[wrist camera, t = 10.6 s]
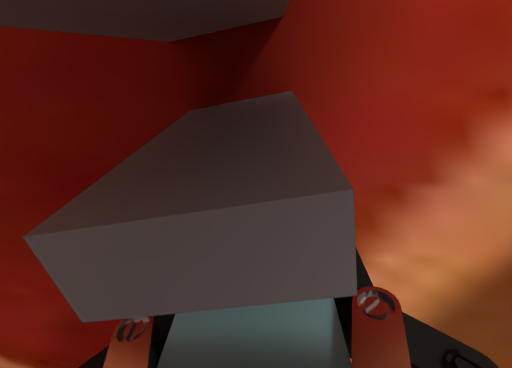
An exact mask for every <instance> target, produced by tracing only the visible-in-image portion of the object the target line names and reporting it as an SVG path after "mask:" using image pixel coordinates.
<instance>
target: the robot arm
mask: <svg viewBox="0 0 512 368" xmlns="http://www.w3.org/2000/svg"><path fill="white" fill-rule="evenodd" d="M356 273H357V296H348V297H338V298H334V301H335V305H336V309H337V313H338V316H339V320H340V324H341V328H342V331H343V335H344V339H345V342H346V346H347V350H348V354H349V357H350V358H351V359H352V361H351V368H498V366H497V365H496V364H495V363H494V362H492V361H491V360H490V359H489V358H488V357H487V356H485V355H483V354H482V353H480V352H479V351H477V350H475V349H473V348H471V347H469V346H467V345H465V344H463V343H461V342H459V341H457V340H456V339H454V338H452V337H450V336H448V335H446V334H444V333H442V332H440V331H438V330H436V329H434V328H432V327H430V326H428V325H427V324H425V323H423V322H421V321H419V320H417V319H415V318H413V317H411V316H409V315H407V314H405V313H403V312H402V310H401V306H400V303H399V301H398V299H397V298H396V297H395V296H394V295H393V294H392V293H390V292H389V291H387V290H385V289H383V288H379V287H373V284H372V282H371V280H370V278H369V275H368V273H367V271H366V269H365V267H364V264H363V262H362V260H361V258H360V255H359V253H358V251H357V249H356ZM174 317H175V314H166V315H156V316H146V317H136V318H126V319H122V320H121V321H120V322H119V324H118V325H117V326H116V328H115V329H114V332H113V334H112V337H111V341H110V345H109V346H107V347H106V348H105V349H103V350H102V351H101V352H99V353H98V354H96V355H95V356H94V357H92V358H91V359H90V360H88V361H87V362H86V363H84V364H83V365H81V366H80V367H79V368H157V365H158V362H159V360H160V357H161V354H162V351H163V348H164V345H165V343H166V340H167V337H168V334H169V331H170V328H171V325H172V323H173V320H174Z"/></svg>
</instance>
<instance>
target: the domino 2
mask: <svg viewBox="0 0 512 368" xmlns="http://www.w3.org/2000/svg"><path fill="white" fill-rule="evenodd" d="M23 238H24V240H25V241H26V243H27V244H28V246H29V247H30V248H31V250H32V251H33V253H34V254H35V256H36V257H37V258H38V260H39V261H40V263H41V264H42V266H43V267H44V268H45V270H46V271H47V273H48V274H49V276H50V277H51V279H52V280H53V281H54V283H55V284H56V286H57V287H58V289H59V290H60V291H61V293H62V294H63V296H64V297H65V299H66V300H67V301H68V303H69V304H70V306H71V307H72V309H73V310H74V311H75V313H76V314H77V316H78V317H79V319H80V320H81V321H82V323H85V322H96V321H106V320H116V319H126V318H136V317H146V316H156V315H166V314H176V313H187V312H197V311H207V310H217V309H227V308H237V307H247V306H257V305H268V304H278V303H288V302H298V301H308V300H318V299H328V298H338V297H348V296H357V273H356V244H355V216H354V189H353V188H352V186H351V184H350V183H349V181H348V180H347V178H346V176H345V175H344V173H343V172H342V170H341V168H340V167H339V165H338V163H337V162H336V160H335V159H334V157H333V155H332V154H331V152H330V151H329V149H328V147H327V146H326V144H325V143H324V141H323V139H322V138H321V136H320V135H319V133H318V131H317V130H316V128H315V126H314V125H313V123H312V122H311V120H310V118H309V117H308V115H307V114H306V112H305V110H304V109H303V107H302V106H301V104H300V102H299V101H298V99H297V98H296V96H295V94H294V93H293V91H288V92H283V93H278V94H272V95H267V96H262V97H257V98H251V99H246V100H241V101H236V102H230V103H225V104H220V105H215V106H210V107H204V108H199V109H194V110H190V111H188V112H187V113H186V114H184V115H183V116H182V117H180V118H179V119H178V120H177V121H175V122H174V123H173V124H171V125H170V126H169V127H167V128H166V129H165V130H163V131H162V132H161V133H159V134H158V135H157V136H155V137H154V138H153V139H151V140H150V141H149V142H147V143H146V144H145V145H143V146H142V147H141V148H140V149H138V150H137V151H136V152H134V153H133V154H132V155H130V156H129V157H128V158H126V159H125V160H124V161H122V162H121V163H120V164H118V165H117V166H116V167H114V168H113V169H112V170H110V171H109V172H108V173H107V174H105V175H104V176H103V177H101V178H100V179H99V180H97V181H96V182H95V183H93V184H92V185H91V186H89V187H88V188H87V189H85V190H84V191H83V192H81V193H80V194H79V195H77V196H76V197H75V198H74V199H72V200H71V201H70V202H68V203H67V204H66V205H64V206H63V207H62V208H60V209H59V210H58V211H56V212H55V213H54V214H52V215H51V216H50V217H48V218H47V219H46V220H44V221H43V222H42V223H41V224H39V225H38V226H37V227H35V228H34V229H33V230H31V231H30V232H29V233H27V234H26V235H25V236H23Z"/></svg>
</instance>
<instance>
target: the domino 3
mask: <svg viewBox="0 0 512 368" xmlns="http://www.w3.org/2000/svg"><path fill="white" fill-rule="evenodd" d="M157 368H351V361H350V357H349V354H348V350H347V346H346V342H345V339H344V335H343V331H342V328H341V324H340V320H339V316H338V313H337V309H336V305H335V301H334V298H328V299H318V300H308V301H298V302H288V303H278V304H268V305H257V306H247V307H237V308H227V309H217V310H207V311H197V312H187V313H176V314H175V317H174V320H173V323H172V325H171V328H170V331H169V334H168V337H167V340H166V343H165V345H164V348H163V351H162V354H161V357H160V360H159V362H158V365H157Z"/></svg>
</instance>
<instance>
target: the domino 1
mask: <svg viewBox="0 0 512 368" xmlns="http://www.w3.org/2000/svg"><path fill="white" fill-rule="evenodd" d="M289 2H290V0H0V26H2V27H13V28H24V29H35V30H46V31H57V32H67V33H78V34H89V35H100V36H111V37H122V38H133V39H144V40H155V41H165V42H172V41H177V40H181V39H186V38H190V37H194V36H199V35H203V34H208V33H212V32H217V31H221V30H226V29H230V28H235V27H239V26H244V25H248V24H253V23H257V22H261V21H266V20H270V19H275V18H279V17H283V16H284V13H285V11H286V9H287V7H288V4H289Z"/></svg>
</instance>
